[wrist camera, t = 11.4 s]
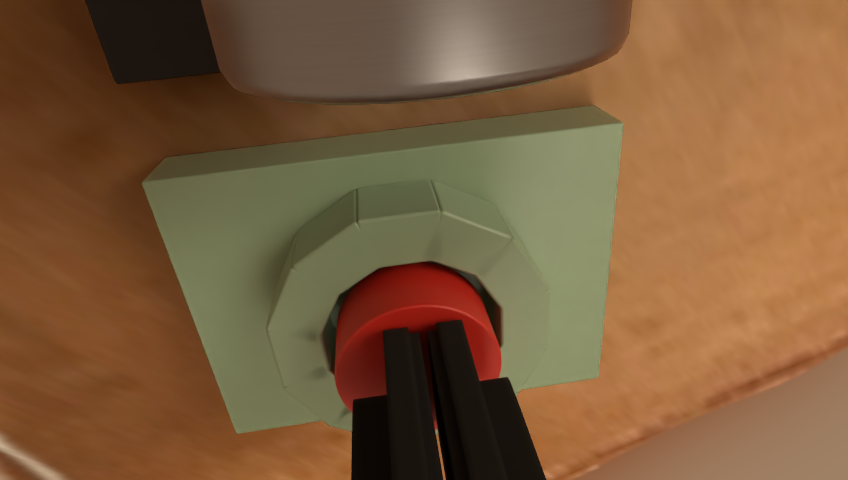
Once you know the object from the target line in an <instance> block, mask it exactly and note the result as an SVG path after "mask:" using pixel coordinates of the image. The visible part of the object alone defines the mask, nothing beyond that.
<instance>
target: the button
mask: <svg viewBox="0 0 848 480" xmlns="http://www.w3.org/2000/svg"><path fill="white" fill-rule="evenodd" d="M460 319H461V320H462V322H463V325H464V329H465V332H466V336H467V339H468V343H469V346H470V350H471V353H472V356H473V360H474V363H475V367H476V370H477V374H478V377H479V381H482V380H489V379H496V378H499V376H500V371H501V364H502V358H501V351H500V347H499V344H498V341H497V338H496V336H495V333H494V330H493V328H492V325H491V322H490V320H489V317H488V314H487V312H486V309H485V306H484V304H483V301H482V299H481V297H480V295H479V293H478V291H477V290H476V288H475V287H474V286H473V285H472V284H471V283H470V282H469V280H467V279H466V278H465V277H464V276H462V275H461V274H459V273H457V272H456V271H454V270H452V269H450V268H447V267H445V266H442V265H438V264H435V263H428V262H419V263H411V264H404V265H397V266H390V267H384V268H382V269H380V270H378V271H375V272H374V273H372V274H370V275H369V276H367V277H365V278H364V279H363V280H362V281H360V282H359V283H358V284H357V285H356V286H355V287H354V288H353V289H352V290H351V291H350V293H349V294H348V295H347V297H346V298H345V300H344V302H343V303H342V305H341V308H340V311H339V314H338V319H337V332H336V353H335V375H334V377H335V384H336V388H337V391H338V394H339V395H340V397H341V399H342V401H343V403H344V404H345V405H346V407H347V408H348V409H349V410H350V411H351V412H352V407H353V400H354V399H361V398H367V397H374V396H381V395H387V391H386V376H385V361H384V346H383V330H389V329H396V328H403V327H408V331H409V334H410V333H417V332H419V335H420V341H421V347H422V353H423V360H424V366H425V372H426V378H427V384H428V390H429V396H430V402H431V408H432V415H433V421H434V427H435V430H438V428H437V420H436V411H435V401H434V392H433V383H432V374H431V365H430V355H429V346H428V337H427V331H431V330H436V323H439V322H446V321H453V320H460Z"/></svg>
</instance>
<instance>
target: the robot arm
mask: <svg viewBox="0 0 848 480" xmlns="http://www.w3.org/2000/svg"><path fill="white" fill-rule="evenodd" d="M427 337H428V346H429V355H430V365H431V374H432V383H433V392H434V401H435V411H436V420H437V428H438V434H439V441H440V447H441V452H442V458H443V464H444V470H445V476H446V480H546V478H545V475H544V472H543V470H542V467H541V464H540V461H539V459H538V456H537V453H536V450H535V448H534V445H533V442H532V439H531V437H530V434H529V431H528V428H527V425H526V423H525V420H524V417H523V414H522V412H521V409H520V406H519V403H518V401H517V398H516V395H515V392H514V390H513V387H512V384H511V382H510V380H509V378H508V377H503V378H496V379H489V380H482V381H479V377H478V374H477V370H476V367H475V363H474V360H473V356H472V353H471V350H470V346H469V343H468V339H467V336H466V332H465V329H464V325H463V322H462V320H461V319H460V320H453V321H446V322H439V323H436V330H431V331H427ZM383 346H384V361H385V376H386V391H387V395H381V396H374V397H367V398H361V399H354V400H353V407H352V474H351V480H443V476H442V470H441V463H440V457H439V451H438V445H437V439H436V433H435V427H434V421H433V415H432V408H431V402H430V396H429V390H428V384H427V378H426V372H425V366H424V360H423V353H422V347H421V341H420V335H419V332H417V333H410V334H409V331H408V327H403V328H396V329H389V330H383Z"/></svg>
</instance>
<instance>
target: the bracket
mask: <svg viewBox="0 0 848 480" xmlns="http://www.w3.org/2000/svg"><path fill="white" fill-rule="evenodd" d="M85 2H86V5H87V7H88V10H89V13H90V15H91V18H92V21H93V24H94V26H95V29H96V32H97V34H98V37H99V40H100V43H101V45H102V48H103V51H104V53H105V56H106V59H107V62H108V64H109V67H110V70H111V73H112V75H113V78H114V81H115V83H116V84H124V83H133V82H142V81H151V80H160V79H169V78H178V77H187V76H195V75H204V74H213V73H222V74H223V75H224V77H225V78H226V79H227V81H228V82H229V84H230V85H231V86H232V87H233V88H234V89H236V90H238V91H240V92H242V93H246V94H249V95H252V96H257V97H263V98H268V99H274V100H280V101H286V102H296V103H306V104H328V105H361V104H389V103H403V102H417V101H428V100H438V99H447V98H456V97H463V96H471V95H478V94H485V93H491V92H496V91H502V90H508V89H513V88H518V87H523V86H528V85H532V84H537V83H541V82H545V81H548V80H552V79H556V78H560V77H563V76H566V75H569V74H572V73H575V72H578V71H581V70H583V69H586V68H589V67H591V66H594V65H596V64H598V63H601V62H603V61H605V60H607V59H609V58H610V57H612V56H614V55H615V54H617V53H618V51H619V50H620V49H621V48H622V46H623V44H624V42H625V40H626V38H627V36H628V34H629V27H630V17H631V6H632V0H85Z"/></svg>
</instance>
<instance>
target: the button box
mask: <svg viewBox="0 0 848 480" xmlns="http://www.w3.org/2000/svg"><path fill="white" fill-rule="evenodd" d="M622 134H623V122H621V121H620V120H618V119H616V118H615V117H613V116H611V115H610V114H608V113H606V112H605V111H603V110H601V109H600V108H598V107H596V106H594V105H592V106H584V107H576V108H567V109H559V110H551V111H543V112H534V113H526V114H518V115H510V116H501V117H493V118H485V119H477V120H469V121H460V122H452V123H444V124H436V125H427V126H419V127H411V128H403V129H394V130H386V131H378V132H370V133H362V134H353V135H345V136H337V137H329V138H320V139H312V140H304V141H296V142H287V143H279V144H271V145H263V146H255V147H246V148H238V149H230V150H222V151H213V152H205V153H197V154H189V155H180V156H172V157H166V158H164V160H163V161H162V162H161V163H160V164H159V165H158V166H157V167H156V168H155V169H154V170H153V171H152V172H151V173H150V174H149V175H148V176H147V177H146V178H145V179H144V180H143V181H142V186H143V189H144V191H145V194H146V197H147V199H148V202H149V205H150V207H151V210H152V212H153V215H154V218H155V220H156V223H157V226H158V228H159V231H160V234H161V236H162V239H163V241H164V244H165V247H166V249H167V252H168V255H169V257H170V260H171V263H172V265H173V268H174V271H175V273H176V276H177V278H178V281H179V284H180V286H181V289H182V292H183V294H184V297H185V300H186V302H187V305H188V307H189V310H190V313H191V315H192V318H193V321H194V323H195V326H196V329H197V331H198V334H199V337H200V339H201V342H202V344H203V347H204V350H205V352H206V355H207V358H208V360H209V363H210V366H211V368H212V371H213V374H214V376H215V379H216V381H217V384H218V387H219V389H220V392H221V395H222V397H223V400H224V403H225V405H226V408H227V410H228V413H229V416H230V418H231V421H232V424H233V426H234V429H235V432H236V433H237V434H239V433H245V432H252V431H258V430H265V429H271V428H278V427H284V426H290V425H297V424H303V423H310V422H316V421H323V422H325V423H326V424H327V425H328V426H332V427H334V428H339V429H343V430H348V431H352V412H351V411H350V410H349V409H348V408H347V407H346V405H345V404H344V403H343V401H342V399H341V397H340V395H339V394H338V391H337V388H336V384H335V377H334V375H335V353H336V332H337V319H338V314H339V311H340V308H341V305H342V303H343V302H344V300H345V298H346V297H347V295H348V294H349V293H350V291H351V290H352V289H353V288H354V287H355V286H356V285H357V284H358V283H359V282H360V281H362V280H363V279H364V278H365V277H367V276H369V275H370V274H372V273H374V272H375V271H378V270H380V269H382V268H384V267H390V266H397V265H404V264H411V263H419V262H428V263H435V264H438V265H442V266H445V267H447V268H450V269H452V270H454V271H456V272H457V273H459V274H461V275H462V276H464V277H465V278H466V279H467V280H469V282H470V283H471V284H472V285H473V286H474V287H475V288H476V290H477V291H478V293H479V295H480V297H481V299H482V301H483V304H484V306H485V309H486V312H487V314H488V317H489V320H490V322H491V325H492V328H493V330H494V333H495V336H496V338H497V341H498V344H499V347H500V351H501V358H502V364H501V371H500V376H499V378H503V377H508V378H509V380H510V382H511V384H512V387H513V390H514V392H515V395H516V396H517V394H518V393H519V391H520V390H524V389H530V388H537V387H543V386H550V385H556V384H563V383H569V382H575V381H582V380H588V379H595V378H598V377H599V367H600V357H601V347H602V336H603V326H604V316H605V306H606V296H607V286H608V276H609V266H610V256H611V245H612V235H613V225H614V215H615V205H616V195H617V185H618V175H619V165H620V154H621V144H622ZM435 433H436V434H438V430H435Z"/></svg>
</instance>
